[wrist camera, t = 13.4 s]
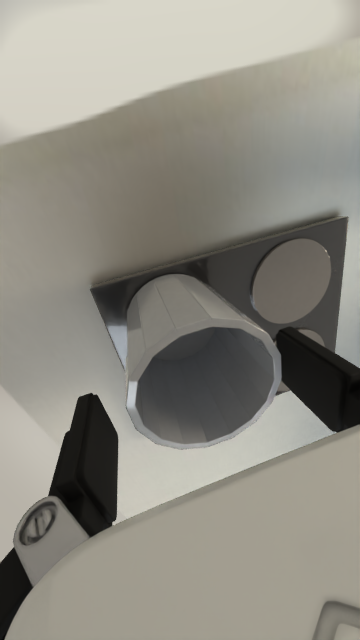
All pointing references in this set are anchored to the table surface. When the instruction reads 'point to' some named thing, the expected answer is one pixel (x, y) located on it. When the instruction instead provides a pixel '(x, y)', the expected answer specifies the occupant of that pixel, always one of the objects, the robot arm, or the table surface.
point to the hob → (255, 283)
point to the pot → (195, 365)
